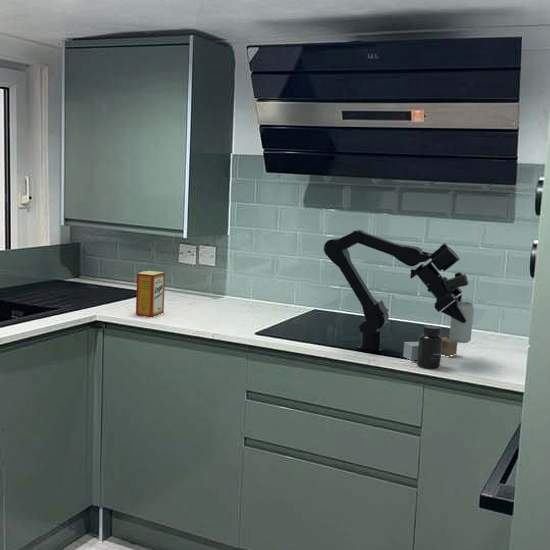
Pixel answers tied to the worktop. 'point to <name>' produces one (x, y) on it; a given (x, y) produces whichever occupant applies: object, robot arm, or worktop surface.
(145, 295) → the baking soda box
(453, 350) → the walnut block
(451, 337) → the beverage can
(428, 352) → the supplement bottle
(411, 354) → the grey plastic block
